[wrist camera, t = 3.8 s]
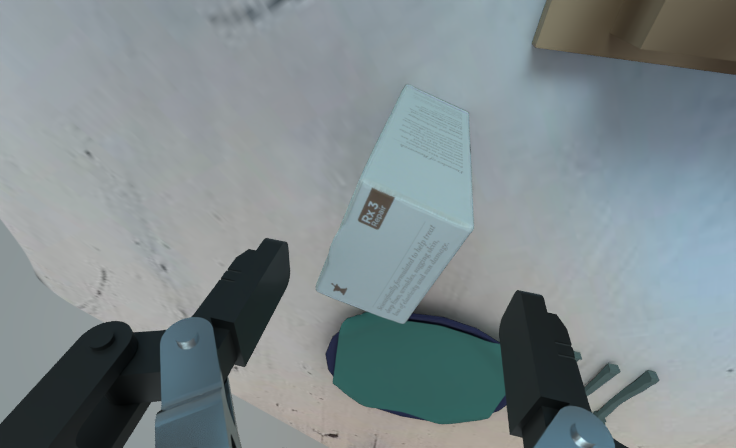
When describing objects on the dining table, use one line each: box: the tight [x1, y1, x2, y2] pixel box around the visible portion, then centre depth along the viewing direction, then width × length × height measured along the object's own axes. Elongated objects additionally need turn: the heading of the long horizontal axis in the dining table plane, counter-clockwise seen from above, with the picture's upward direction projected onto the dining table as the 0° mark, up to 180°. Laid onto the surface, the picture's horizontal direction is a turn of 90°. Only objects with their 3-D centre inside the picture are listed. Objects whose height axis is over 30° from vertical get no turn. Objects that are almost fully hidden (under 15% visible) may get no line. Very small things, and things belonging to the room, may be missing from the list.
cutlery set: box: [326, 312, 659, 425], centre depth 37 cm, size 20×30×2 cm, turn 82°
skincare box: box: [316, 85, 474, 324], centre depth 18 cm, size 6×4×12 cm
